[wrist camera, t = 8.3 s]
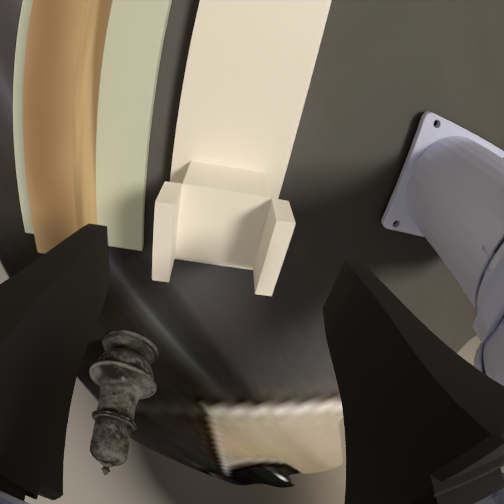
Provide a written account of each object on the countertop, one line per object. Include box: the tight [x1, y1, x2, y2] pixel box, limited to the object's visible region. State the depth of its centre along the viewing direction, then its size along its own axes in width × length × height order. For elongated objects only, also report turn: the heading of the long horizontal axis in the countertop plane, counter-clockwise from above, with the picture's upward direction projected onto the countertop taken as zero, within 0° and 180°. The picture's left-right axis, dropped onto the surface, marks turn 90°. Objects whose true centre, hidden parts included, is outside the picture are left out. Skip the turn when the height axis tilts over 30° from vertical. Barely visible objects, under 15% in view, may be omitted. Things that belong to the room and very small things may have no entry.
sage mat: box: [13, 0, 172, 251], centre depth 12 cm, size 9×26×1 cm, turn 168°
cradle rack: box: [152, 0, 331, 296], centre depth 11 cm, size 6×26×6 cm, turn 168°
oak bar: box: [23, 0, 113, 254], centre depth 10 cm, size 3×24×3 cm, turn 168°
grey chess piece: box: [89, 330, 158, 475], centre depth 22 cm, size 6×6×12 cm
